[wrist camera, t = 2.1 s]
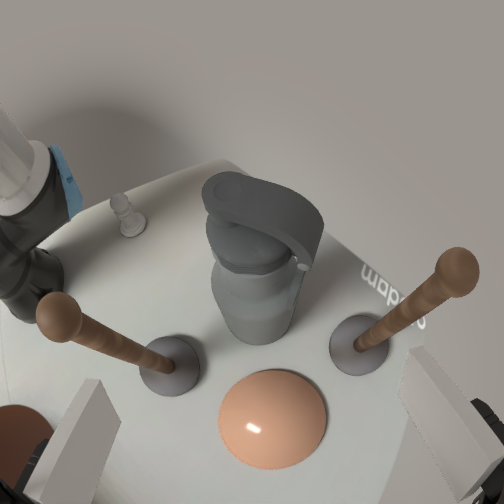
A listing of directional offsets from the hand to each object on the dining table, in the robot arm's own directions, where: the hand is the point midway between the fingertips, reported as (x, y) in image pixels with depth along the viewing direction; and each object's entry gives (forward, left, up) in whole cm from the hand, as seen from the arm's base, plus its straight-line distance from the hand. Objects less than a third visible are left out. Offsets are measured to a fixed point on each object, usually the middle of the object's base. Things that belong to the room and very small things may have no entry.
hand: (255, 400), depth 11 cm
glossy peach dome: (+4, 0, -31) cm, 32 cm away
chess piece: (-36, -12, -32) cm, 49 cm away
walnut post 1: (-9, -11, -31) cm, 34 cm away
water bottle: (-12, +4, -32) cm, 34 cm away
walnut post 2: (-2, +16, -31) cm, 35 cm away
